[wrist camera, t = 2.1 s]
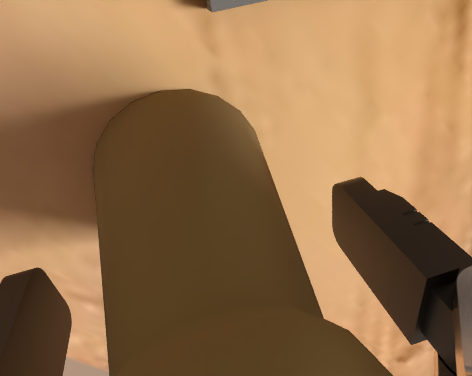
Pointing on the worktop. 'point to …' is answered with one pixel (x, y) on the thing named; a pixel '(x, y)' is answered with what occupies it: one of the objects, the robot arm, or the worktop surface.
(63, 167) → the worktop surface
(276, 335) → the cork
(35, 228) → the worktop surface
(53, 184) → the worktop surface
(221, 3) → the fitting mat
